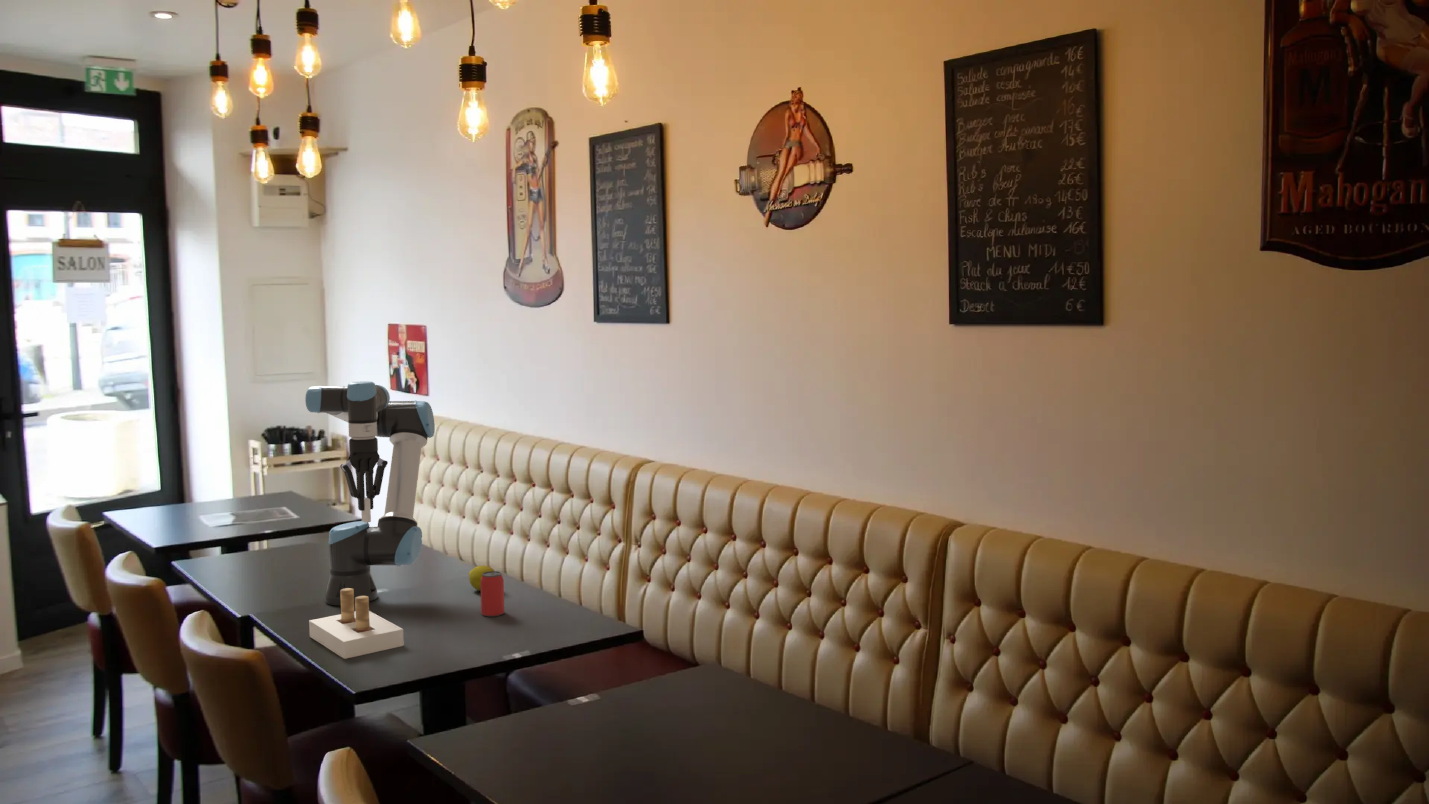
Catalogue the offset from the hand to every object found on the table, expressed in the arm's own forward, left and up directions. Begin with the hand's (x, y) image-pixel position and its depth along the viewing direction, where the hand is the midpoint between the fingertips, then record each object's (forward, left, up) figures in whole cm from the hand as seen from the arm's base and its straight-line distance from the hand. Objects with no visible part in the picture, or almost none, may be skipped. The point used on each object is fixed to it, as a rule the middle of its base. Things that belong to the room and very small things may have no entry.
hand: (366, 521), depth 305 cm
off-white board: (+9, +12, -29) cm, 33 cm away
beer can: (-31, +14, -30) cm, 45 cm away
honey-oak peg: (+9, +17, -29) cm, 35 cm away
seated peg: (+9, +7, -29) cm, 32 cm away
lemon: (-41, -10, -30) cm, 52 cm away
